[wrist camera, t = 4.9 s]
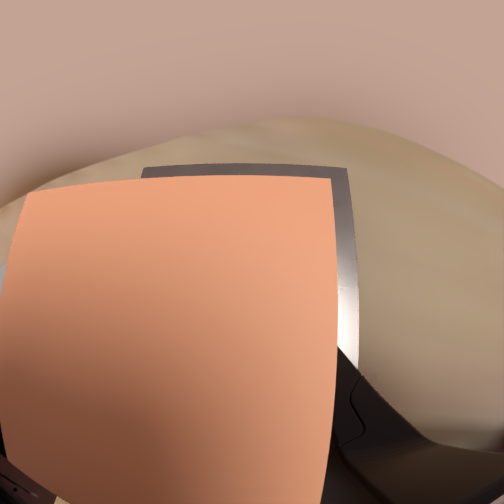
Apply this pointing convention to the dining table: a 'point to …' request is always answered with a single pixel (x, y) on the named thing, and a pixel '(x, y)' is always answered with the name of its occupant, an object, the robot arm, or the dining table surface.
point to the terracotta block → (172, 340)
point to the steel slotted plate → (343, 231)
